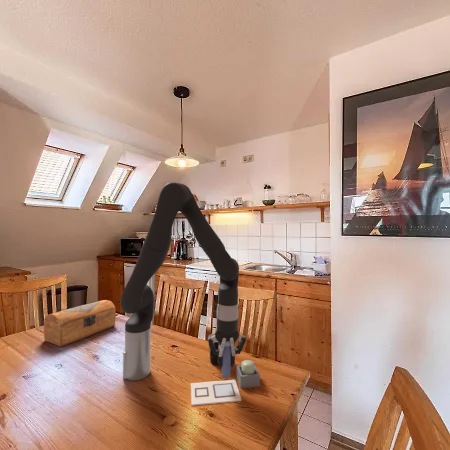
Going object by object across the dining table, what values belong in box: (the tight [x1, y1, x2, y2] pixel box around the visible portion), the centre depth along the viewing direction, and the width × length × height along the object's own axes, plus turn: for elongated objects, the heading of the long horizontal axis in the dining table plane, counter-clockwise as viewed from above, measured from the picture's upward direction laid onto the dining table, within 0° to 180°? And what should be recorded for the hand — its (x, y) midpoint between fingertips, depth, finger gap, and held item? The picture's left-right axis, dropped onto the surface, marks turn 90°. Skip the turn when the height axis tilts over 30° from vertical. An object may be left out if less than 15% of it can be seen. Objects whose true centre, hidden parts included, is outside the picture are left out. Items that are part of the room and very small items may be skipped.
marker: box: [221, 341, 232, 379], centre depth 88 cm, size 3×3×12 cm
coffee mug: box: [207, 332, 220, 367], centre depth 107 cm, size 12×9×10 cm
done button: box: [241, 359, 255, 375], centre depth 92 cm, size 5×5×4 cm
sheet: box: [190, 379, 242, 407], centre depth 86 cm, size 16×11×1 cm
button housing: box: [236, 363, 261, 389], centre depth 92 cm, size 7×7×4 cm
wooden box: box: [43, 299, 117, 348], centre depth 134 cm, size 30×16×14 cm, turn 150°
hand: (226, 365), depth 88 cm, fingers closed on marker, 3 cm apart
